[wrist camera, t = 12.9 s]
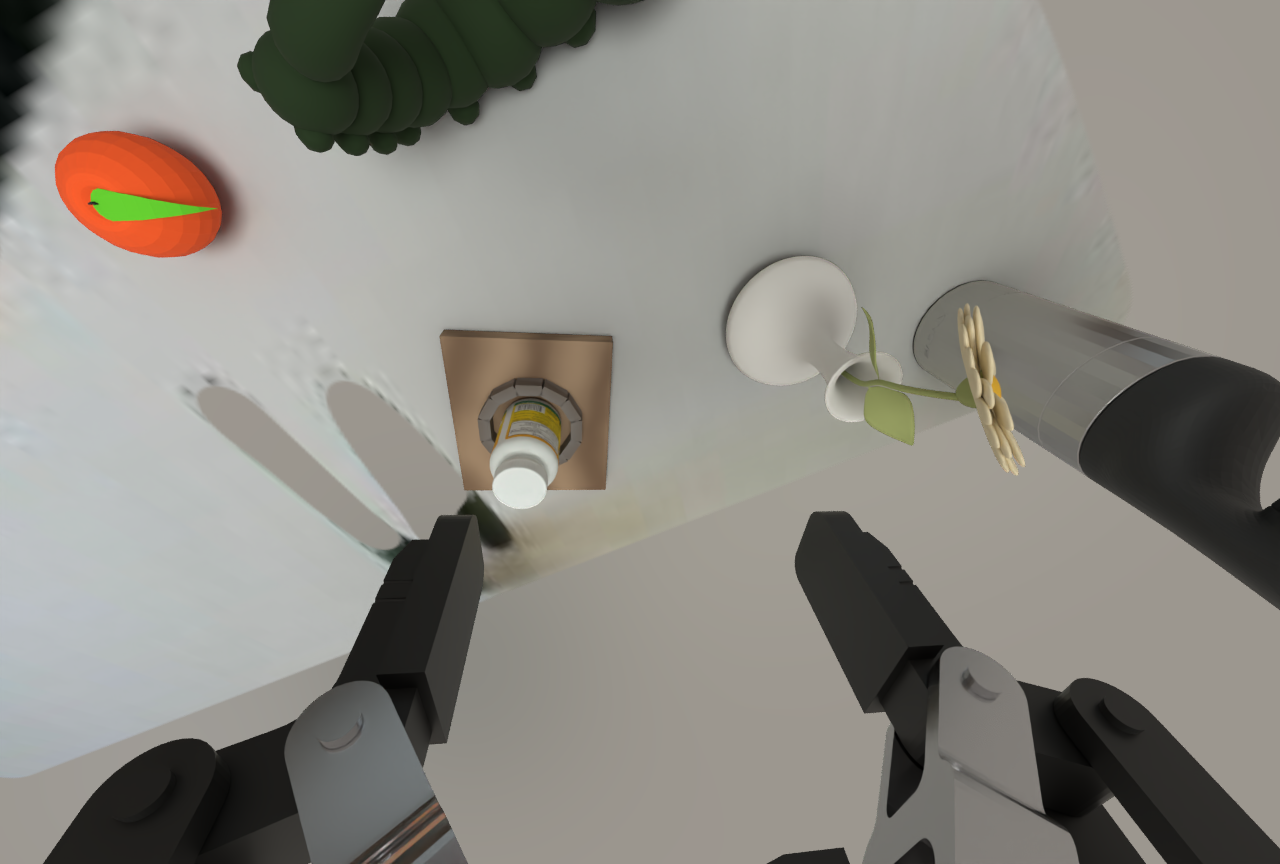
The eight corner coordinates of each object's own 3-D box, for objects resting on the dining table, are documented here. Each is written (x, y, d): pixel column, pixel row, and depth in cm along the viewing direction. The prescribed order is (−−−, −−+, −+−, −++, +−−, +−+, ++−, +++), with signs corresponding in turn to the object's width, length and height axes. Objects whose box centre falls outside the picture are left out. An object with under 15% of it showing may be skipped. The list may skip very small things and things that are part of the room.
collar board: (611, 336, 39) (613, 349, 37) (604, 480, 48) (606, 499, 45) (444, 329, 38) (434, 343, 35) (467, 480, 46) (461, 500, 44)
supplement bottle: (535, 385, 40) (522, 446, 31) (573, 426, 42) (571, 492, 34) (489, 418, 41) (466, 485, 33) (529, 455, 43) (517, 526, 35)
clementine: (243, 141, 30) (157, 140, 24) (276, 252, 33) (209, 275, 27) (102, 125, 29) (-26, 119, 23) (152, 241, 32) (53, 264, 26)
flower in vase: (846, 358, 43) (1094, 560, 22) (730, 390, 44) (865, 616, 23) (846, 213, 36) (1212, 306, 15) (708, 253, 37) (876, 397, 16)
